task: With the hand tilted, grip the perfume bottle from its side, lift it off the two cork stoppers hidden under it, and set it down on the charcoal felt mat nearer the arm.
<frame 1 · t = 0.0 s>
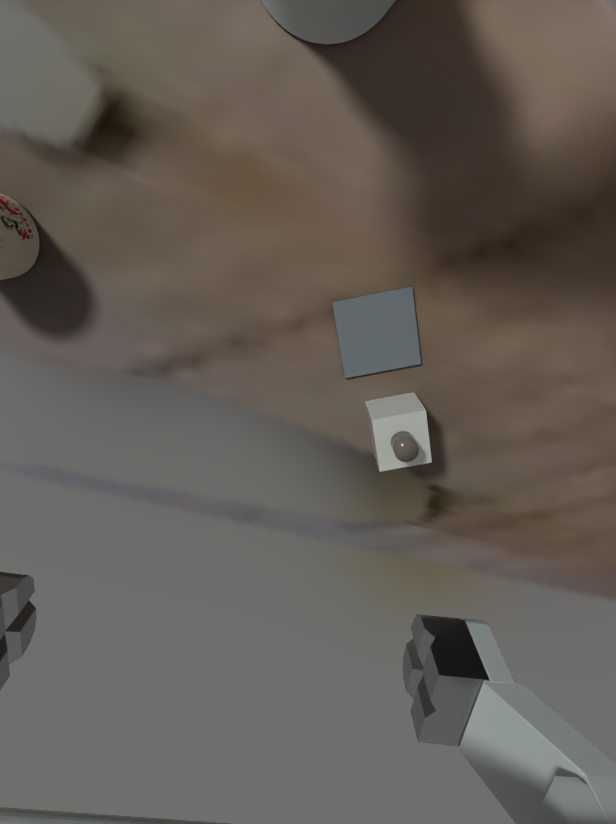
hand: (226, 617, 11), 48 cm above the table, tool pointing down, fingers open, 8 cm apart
perfume bottle: (392, 421, 61), on the table
felt mat: (377, 333, 57), on the table
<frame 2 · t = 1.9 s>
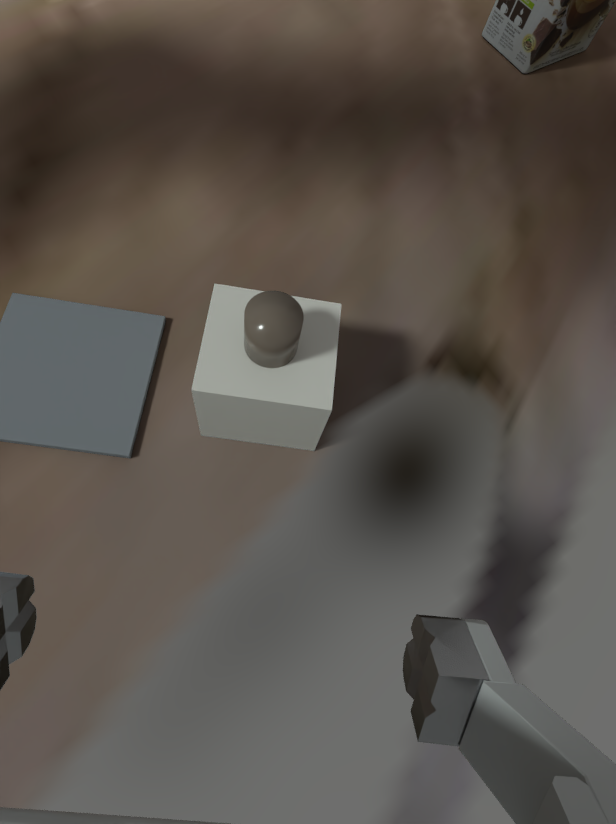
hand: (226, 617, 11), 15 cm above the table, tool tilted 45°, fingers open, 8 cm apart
coffee box: (533, 46, 47), on the table
perfume bottle: (265, 395, 30), on the table
felt mat: (70, 373, 29), on the table
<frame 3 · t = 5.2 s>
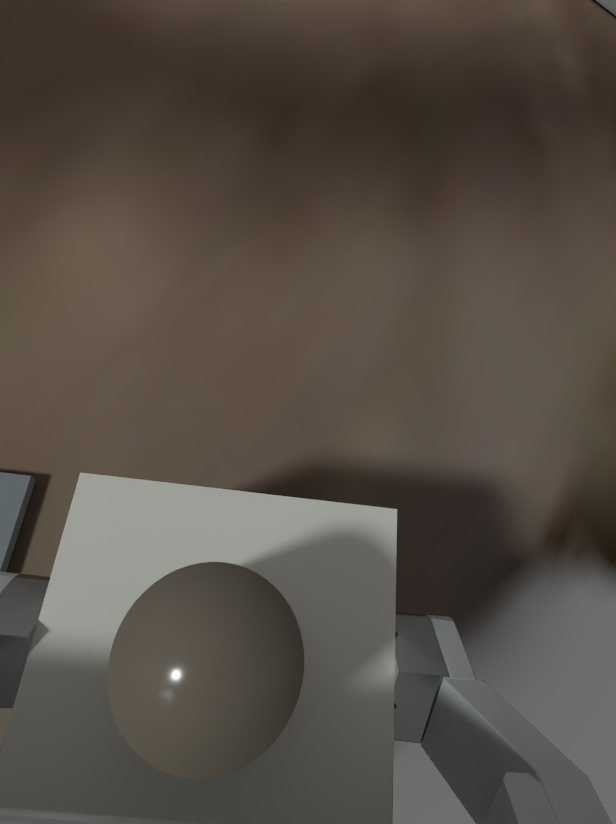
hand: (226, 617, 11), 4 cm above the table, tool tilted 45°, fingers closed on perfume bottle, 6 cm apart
perfume bottle: (229, 643, 14), on the table, touching gripper
when the fingers open (6 cm above the table, at t = 10.8 s): perfume bottle stays where it is, resting on felt mat.
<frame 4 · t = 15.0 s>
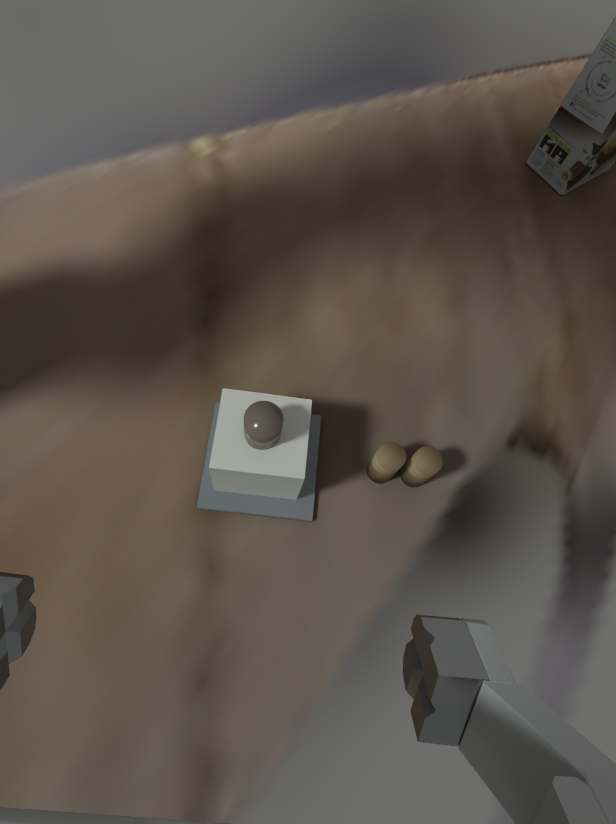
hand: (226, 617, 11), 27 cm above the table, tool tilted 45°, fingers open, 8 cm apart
coffee box: (566, 168, 60), on the table
cork 2: (379, 470, 41), on the table
perfume bottle: (260, 458, 40), resting on felt mat
felt mat: (262, 460, 41), on the table
cork 1: (412, 474, 42), on the table
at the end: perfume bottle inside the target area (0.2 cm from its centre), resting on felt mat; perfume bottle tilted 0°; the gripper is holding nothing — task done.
